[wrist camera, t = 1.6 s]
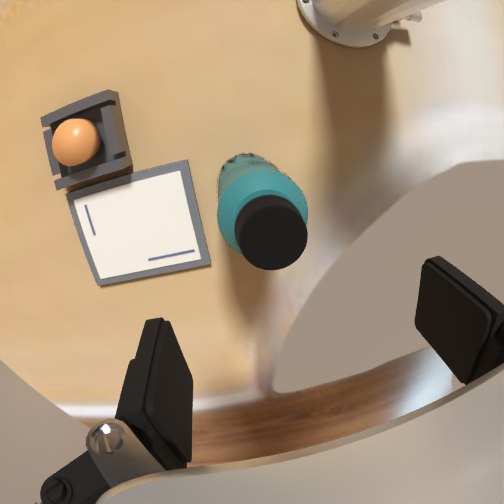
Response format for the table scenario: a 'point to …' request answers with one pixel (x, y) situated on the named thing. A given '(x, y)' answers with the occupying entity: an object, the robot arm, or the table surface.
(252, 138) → the table surface
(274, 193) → the beverage bottle
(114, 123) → the button housing
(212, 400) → the table surface
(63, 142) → the button
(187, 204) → the drawing board
